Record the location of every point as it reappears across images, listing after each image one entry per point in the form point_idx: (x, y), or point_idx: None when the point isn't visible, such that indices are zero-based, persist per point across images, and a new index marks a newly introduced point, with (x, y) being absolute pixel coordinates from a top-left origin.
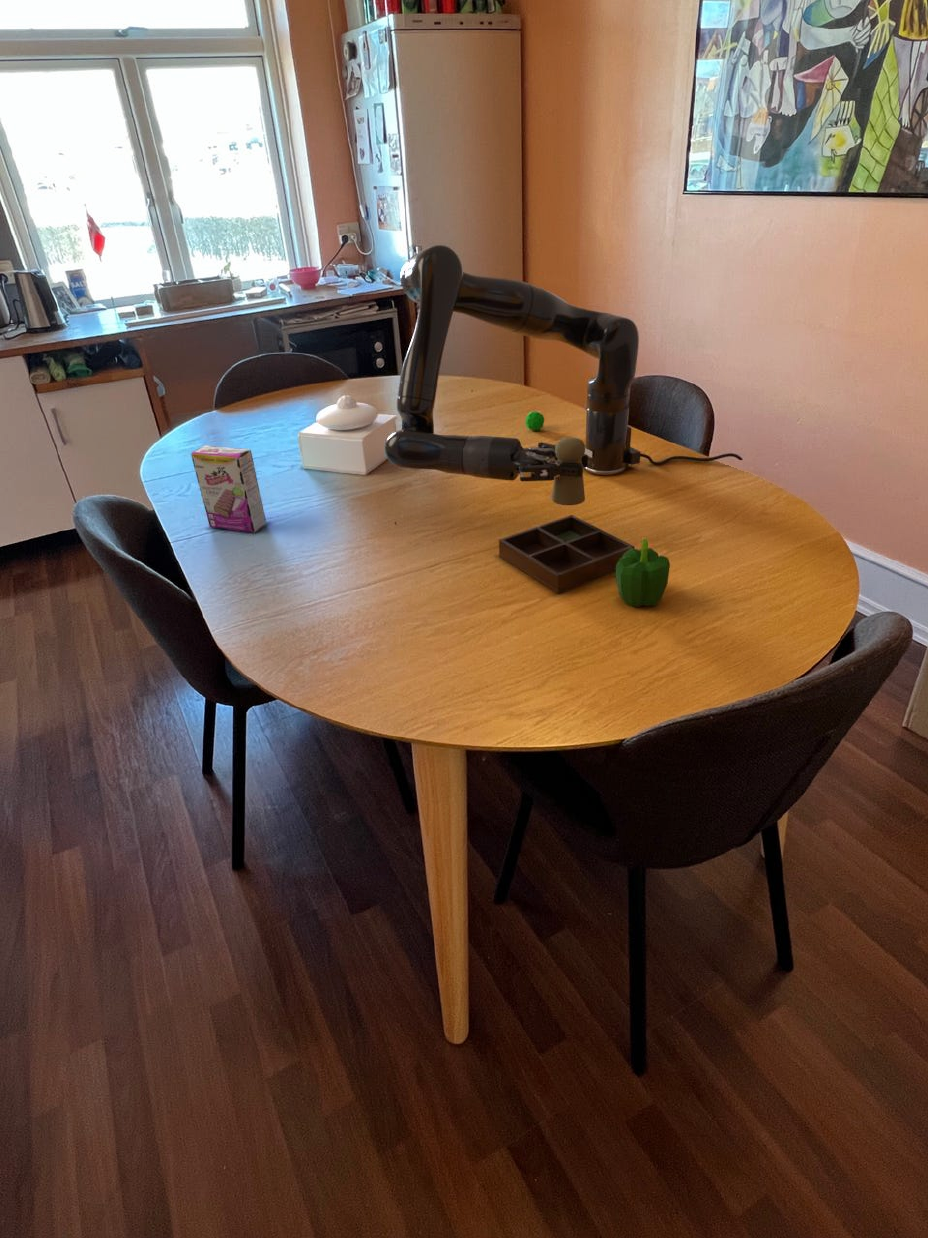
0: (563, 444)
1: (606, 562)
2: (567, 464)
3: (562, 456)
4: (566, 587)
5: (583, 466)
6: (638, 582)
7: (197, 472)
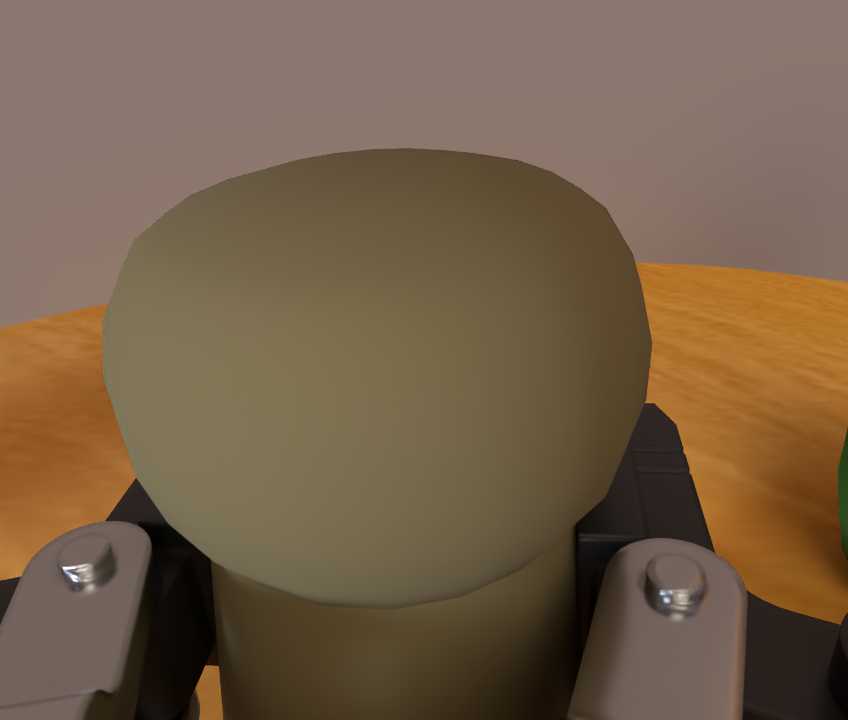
0: (576, 234)
1: None
2: (634, 481)
3: (630, 436)
4: None
5: None
6: None
7: None
